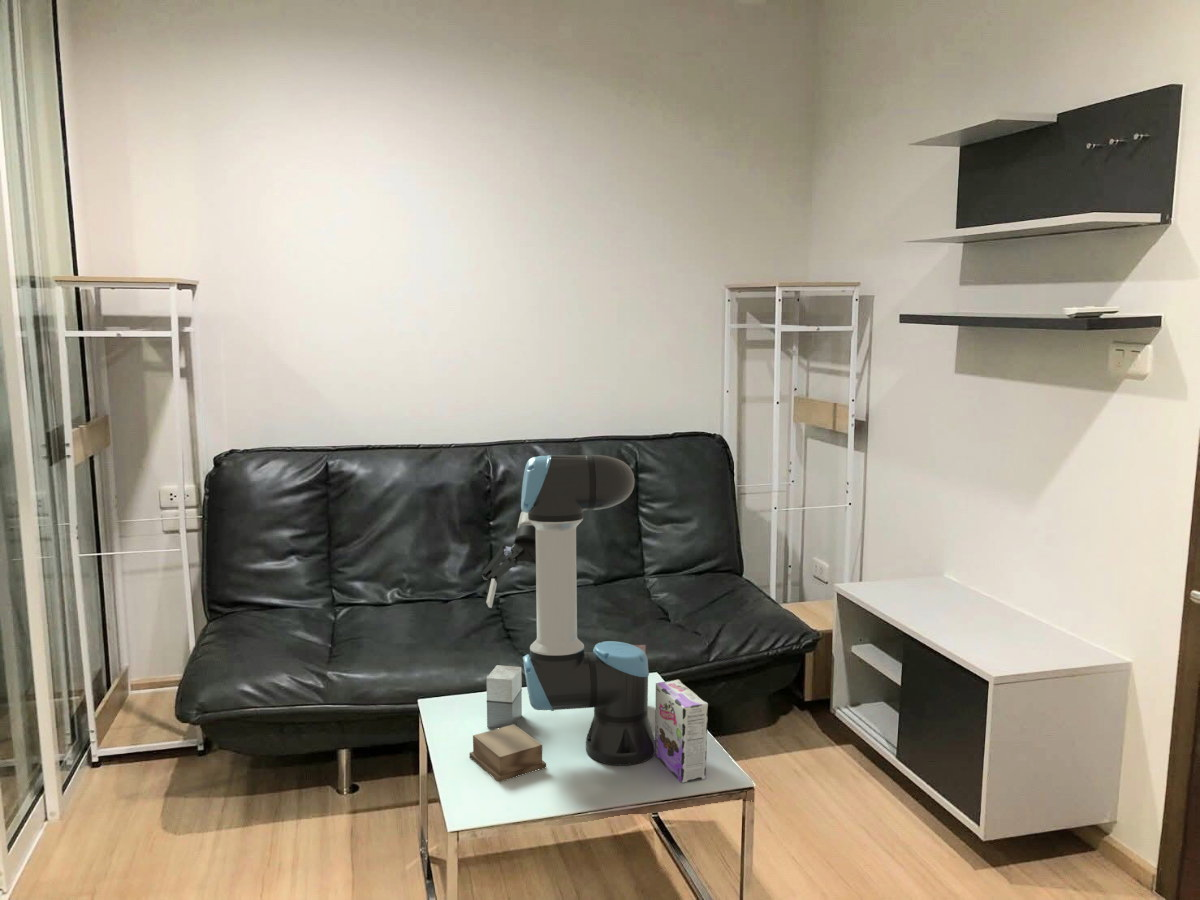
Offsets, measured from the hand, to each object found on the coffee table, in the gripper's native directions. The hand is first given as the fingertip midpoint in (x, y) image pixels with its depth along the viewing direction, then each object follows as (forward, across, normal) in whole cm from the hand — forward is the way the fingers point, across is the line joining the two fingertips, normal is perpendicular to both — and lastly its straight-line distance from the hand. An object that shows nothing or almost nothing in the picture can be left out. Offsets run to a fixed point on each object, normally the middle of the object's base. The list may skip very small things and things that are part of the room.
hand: (516, 607), depth 230 cm
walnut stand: (+39, -7, +5) cm, 40 cm away
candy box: (+35, -43, +1) cm, 55 cm away
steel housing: (+25, 0, -9) cm, 27 cm away
